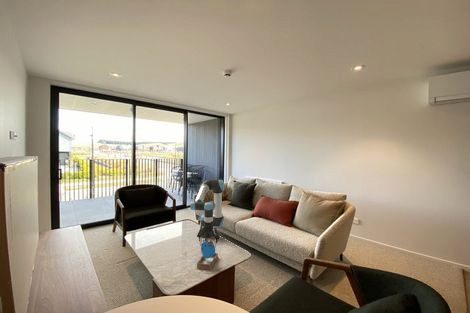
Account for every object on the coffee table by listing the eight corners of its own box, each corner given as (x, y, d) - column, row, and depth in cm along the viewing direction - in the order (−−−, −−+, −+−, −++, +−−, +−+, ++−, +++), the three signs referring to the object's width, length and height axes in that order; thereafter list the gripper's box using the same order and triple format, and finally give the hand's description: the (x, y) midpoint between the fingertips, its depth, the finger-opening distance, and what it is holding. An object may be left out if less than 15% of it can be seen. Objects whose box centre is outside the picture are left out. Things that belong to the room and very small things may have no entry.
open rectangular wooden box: (205, 255, 179) (205, 251, 179) (217, 257, 176) (217, 253, 176) (196, 267, 160) (196, 263, 160) (210, 270, 158) (210, 265, 158)
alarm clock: (215, 258, 166) (215, 241, 165) (209, 261, 161) (209, 243, 161) (206, 252, 175) (206, 236, 175) (200, 255, 171) (200, 238, 170)
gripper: (193, 221, 166) (192, 246, 167) (221, 224, 161) (220, 249, 162) (196, 218, 173) (196, 242, 174) (223, 221, 168) (223, 245, 169)
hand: (208, 245), depth 168 cm, fingers closed on alarm clock, 13 cm apart
